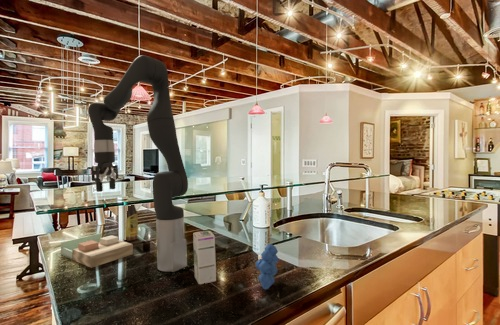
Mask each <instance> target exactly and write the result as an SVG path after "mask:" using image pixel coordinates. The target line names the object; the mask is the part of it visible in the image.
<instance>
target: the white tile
mask: <svg viewBox="0 0 500 325" xmlns="http://www.w3.org/2000/svg"><path fill="white" fill-rule="evenodd" d="M119 240H120V239H119V236H116V235H108V236H102V238H100V243H101V244H104V245H110V244H113V243H117V242H119Z"/></svg>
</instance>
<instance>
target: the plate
mask: <svg viewBox="0 0 500 325" xmlns="http://www.w3.org/2000/svg"><path fill="white" fill-rule="evenodd" d="M98 243H99V248H95V249H91V250H88V251H83V250H80V249H78V248H76V249H72V254H73V260H72V261H74V262H77V263H79V264H81V265H83V266H86V267H88V268H90V269H92V268H95V267H98V266H101V265H104V264H107V263H110V262H113V261H116V260H119V259H123V258H125V257H129V256H132V255H134V248H133V247H134V246H133V243H131V242H128V241H125V240H124V241H123V240H120V239H119V242H117V243H113V244H110V245H104V244H101V243H100V242H98Z"/></svg>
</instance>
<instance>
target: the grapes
mask: <svg viewBox="0 0 500 325" xmlns="http://www.w3.org/2000/svg"><path fill="white" fill-rule="evenodd" d="M278 253H279V251H278V249H277V247H276V246H275V245H273V244H272V243H269V244H267V245H266V246H265V247H264V251H263V252H262V253H261V254H260V256H261V258H259V259H258V260H257V261H256V262H255V264H254V265H255V268H256V270H258V271H260V274H259V275H258V281H259V282H260V285H261V287H262V289H263V290H268V289H270V288H271V286H272V285H274V284H275V282H276V280H275V278H274V276H275V275H276V274H277V273H278V272H279V271H278V268H277V267H278V266H277V263H278V262H279V261H280V260H279V257H278V256H277V254H278Z"/></svg>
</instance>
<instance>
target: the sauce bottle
mask: <svg viewBox="0 0 500 325" xmlns="http://www.w3.org/2000/svg"><path fill="white" fill-rule="evenodd" d="M138 225H139V224H138V211H137V209H136V206H135V205H131V206H128V211H127V227H126V240H127V241H126V242H129V241H135V240H137V239H138V236H139V233H138V232H139V230H138Z"/></svg>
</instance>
